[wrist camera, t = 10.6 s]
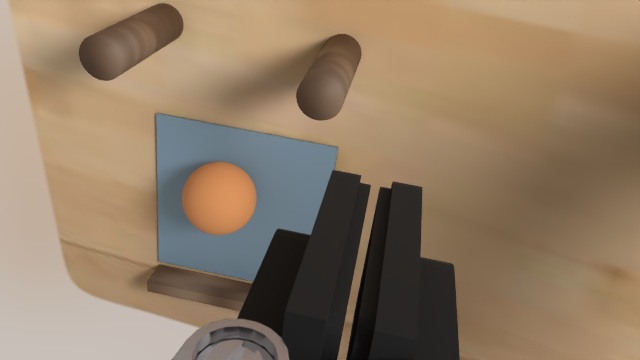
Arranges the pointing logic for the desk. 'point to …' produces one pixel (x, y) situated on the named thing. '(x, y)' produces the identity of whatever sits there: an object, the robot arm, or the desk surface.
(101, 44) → the post near camera
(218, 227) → the ball
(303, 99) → the post near arm
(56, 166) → the desk surface
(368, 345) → the robot arm
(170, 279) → the wall
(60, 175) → the desk surface
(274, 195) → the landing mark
